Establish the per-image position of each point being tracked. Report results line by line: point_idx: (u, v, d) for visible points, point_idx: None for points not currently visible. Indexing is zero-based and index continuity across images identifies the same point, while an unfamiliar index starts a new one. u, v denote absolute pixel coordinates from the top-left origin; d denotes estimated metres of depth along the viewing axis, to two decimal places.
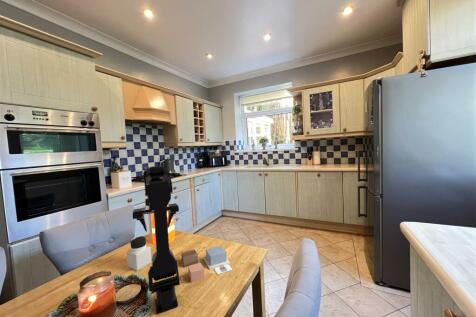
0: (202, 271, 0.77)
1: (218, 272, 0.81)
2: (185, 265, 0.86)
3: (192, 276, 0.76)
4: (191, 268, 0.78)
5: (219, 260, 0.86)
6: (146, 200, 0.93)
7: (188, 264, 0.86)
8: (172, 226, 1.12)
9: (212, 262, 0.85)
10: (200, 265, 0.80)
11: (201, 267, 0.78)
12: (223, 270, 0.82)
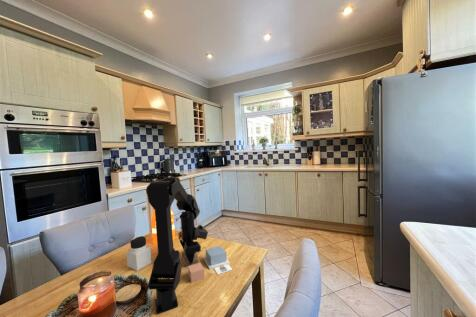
0: (202, 271, 0.77)
1: (218, 272, 0.81)
2: (185, 264, 0.86)
3: (192, 276, 0.76)
4: (191, 269, 0.78)
5: (219, 260, 0.86)
6: None
7: (188, 263, 0.86)
8: (172, 226, 1.12)
9: (212, 262, 0.85)
10: (200, 265, 0.80)
11: (201, 267, 0.78)
12: (223, 270, 0.82)
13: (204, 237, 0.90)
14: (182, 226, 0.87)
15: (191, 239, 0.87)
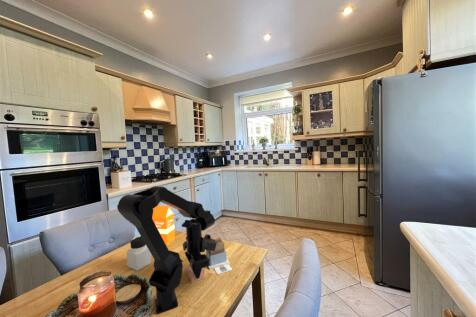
0: (202, 270, 0.77)
1: (218, 272, 0.81)
2: (212, 253, 0.85)
3: (192, 276, 0.76)
4: (191, 268, 0.78)
5: (219, 260, 0.86)
6: (205, 236, 0.84)
7: (215, 252, 0.86)
8: (172, 226, 1.12)
9: (212, 262, 0.85)
10: None
11: None
12: (223, 270, 0.82)
13: (213, 249, 0.79)
14: None
15: (198, 251, 0.76)
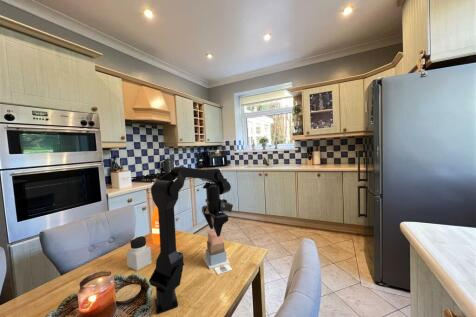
0: (221, 235, 0.87)
1: (218, 272, 0.81)
2: (212, 253, 0.85)
3: (212, 239, 0.86)
4: (211, 233, 0.88)
5: (219, 260, 0.86)
6: (221, 200, 0.94)
7: (215, 252, 0.86)
8: None
9: (212, 262, 0.85)
10: None
11: None
12: (223, 270, 0.82)
13: (229, 210, 0.89)
14: (207, 197, 0.87)
15: (217, 211, 0.86)
